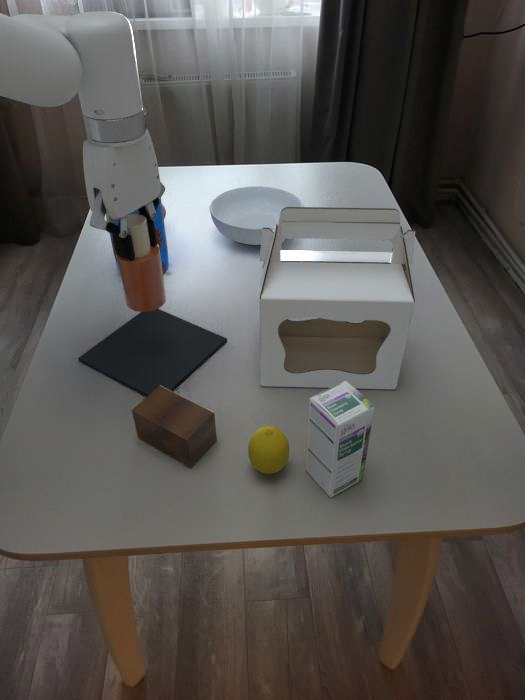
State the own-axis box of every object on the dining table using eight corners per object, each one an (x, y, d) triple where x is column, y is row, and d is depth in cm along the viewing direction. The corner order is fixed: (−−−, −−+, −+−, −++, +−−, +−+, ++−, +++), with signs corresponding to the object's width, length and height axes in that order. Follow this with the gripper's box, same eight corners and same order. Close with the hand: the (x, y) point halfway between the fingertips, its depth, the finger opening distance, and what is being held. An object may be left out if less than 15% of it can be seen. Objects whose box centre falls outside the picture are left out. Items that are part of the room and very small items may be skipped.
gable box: (258, 387, 89) (256, 230, 71) (261, 335, 99) (261, 186, 81) (397, 390, 89) (432, 233, 70) (386, 337, 99) (414, 188, 80)
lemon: (276, 491, 74) (277, 453, 69) (241, 474, 76) (239, 436, 71) (295, 462, 78) (297, 424, 73) (260, 447, 80) (260, 409, 75)
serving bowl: (296, 261, 118) (298, 232, 114) (201, 252, 121) (198, 224, 116) (308, 215, 133) (309, 188, 129) (223, 209, 136) (221, 182, 132)
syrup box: (330, 499, 73) (340, 426, 64) (303, 469, 77) (309, 395, 68) (363, 479, 76) (377, 406, 66) (335, 451, 79) (345, 377, 70)
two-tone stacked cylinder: (129, 312, 91) (75, 273, 78) (164, 249, 93) (117, 201, 80) (158, 325, 89) (108, 287, 76) (194, 260, 91) (151, 212, 78)
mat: (78, 361, 94) (77, 358, 94) (150, 308, 106) (150, 305, 105) (159, 403, 87) (158, 400, 86) (227, 341, 98) (227, 338, 97)
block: (137, 438, 81) (131, 410, 78) (164, 412, 85) (160, 384, 81) (191, 468, 77) (187, 440, 73) (217, 440, 81) (214, 412, 77)
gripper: (139, 102, 78) (155, 221, 90) (43, 139, 67) (77, 268, 79) (180, 112, 75) (192, 233, 87) (87, 152, 64) (115, 284, 76)
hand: (137, 249), depth 83 cm, fingers closed on two-tone stacked cylinder, 4 cm apart
